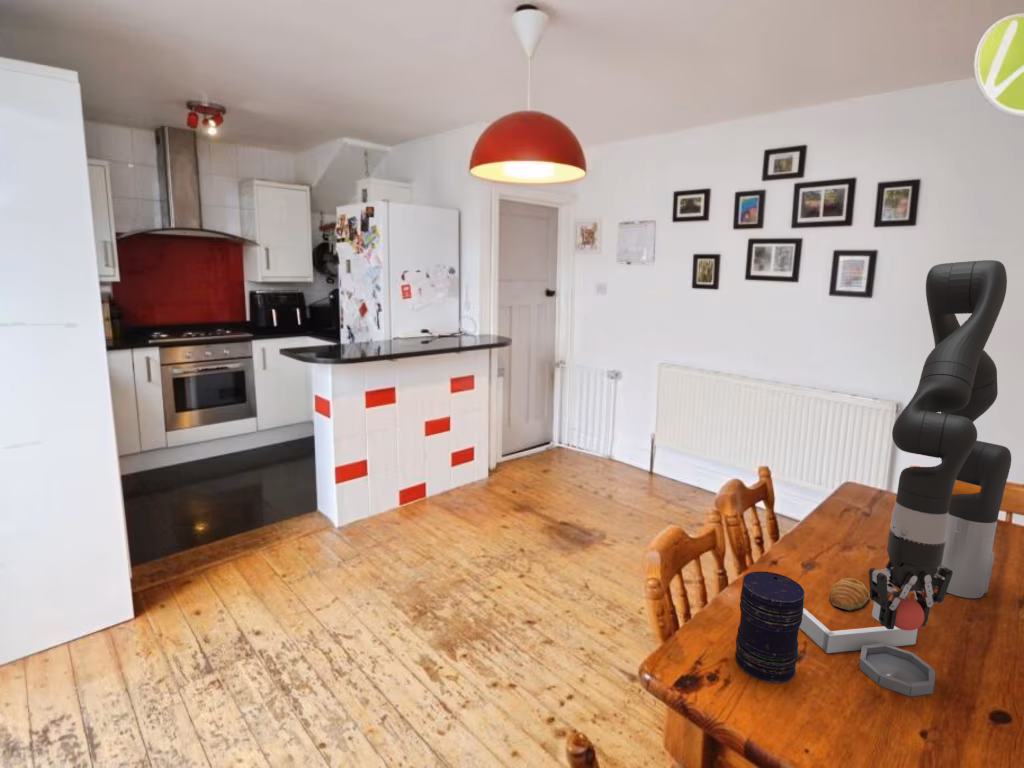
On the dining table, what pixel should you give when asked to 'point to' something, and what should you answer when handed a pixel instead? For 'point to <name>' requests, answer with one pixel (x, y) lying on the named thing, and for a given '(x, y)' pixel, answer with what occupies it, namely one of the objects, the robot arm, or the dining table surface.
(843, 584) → the pastry
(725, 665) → the dining table surface
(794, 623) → the dark blue ridged cylinder
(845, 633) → the white u-shaped bracket
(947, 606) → the dining table surface
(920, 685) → the dish
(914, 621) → the ball
